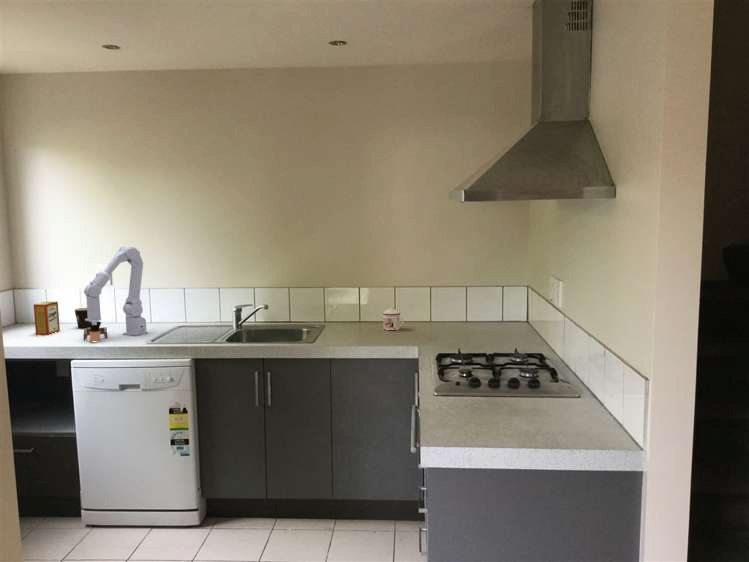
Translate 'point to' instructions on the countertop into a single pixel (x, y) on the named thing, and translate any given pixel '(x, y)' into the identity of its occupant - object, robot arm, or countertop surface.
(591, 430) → the countertop surface
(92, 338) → the terracotta block
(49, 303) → the baking soda box
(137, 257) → the robot arm
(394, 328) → the teacup with lid
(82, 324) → the coffee mug
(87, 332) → the wooden frame
